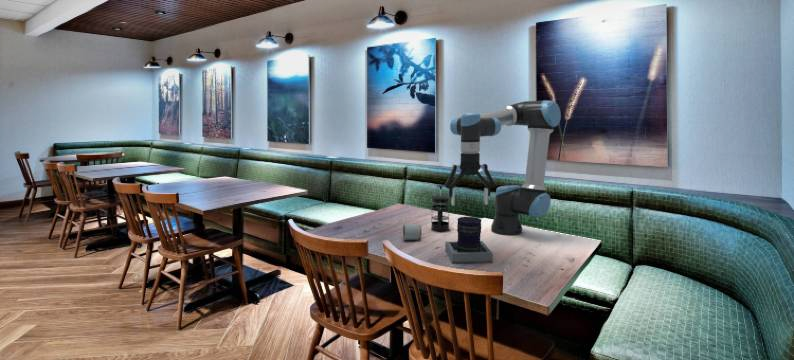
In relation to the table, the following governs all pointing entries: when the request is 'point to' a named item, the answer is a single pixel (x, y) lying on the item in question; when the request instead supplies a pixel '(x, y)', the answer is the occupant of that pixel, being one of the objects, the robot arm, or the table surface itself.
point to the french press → (440, 213)
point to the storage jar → (469, 234)
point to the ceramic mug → (411, 232)
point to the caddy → (468, 254)
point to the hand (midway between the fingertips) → (469, 204)
